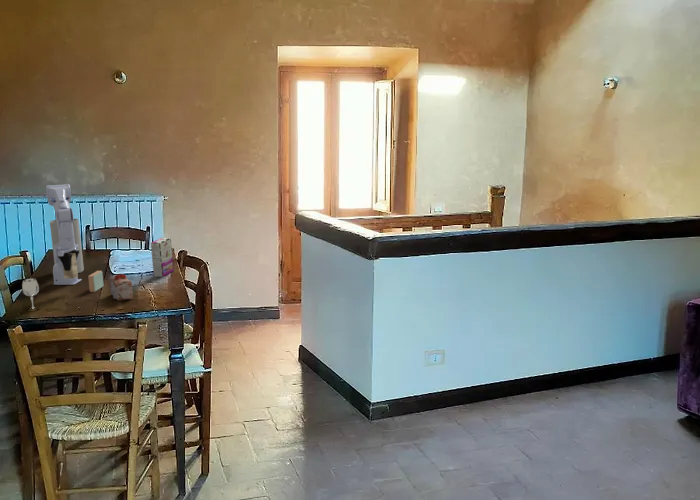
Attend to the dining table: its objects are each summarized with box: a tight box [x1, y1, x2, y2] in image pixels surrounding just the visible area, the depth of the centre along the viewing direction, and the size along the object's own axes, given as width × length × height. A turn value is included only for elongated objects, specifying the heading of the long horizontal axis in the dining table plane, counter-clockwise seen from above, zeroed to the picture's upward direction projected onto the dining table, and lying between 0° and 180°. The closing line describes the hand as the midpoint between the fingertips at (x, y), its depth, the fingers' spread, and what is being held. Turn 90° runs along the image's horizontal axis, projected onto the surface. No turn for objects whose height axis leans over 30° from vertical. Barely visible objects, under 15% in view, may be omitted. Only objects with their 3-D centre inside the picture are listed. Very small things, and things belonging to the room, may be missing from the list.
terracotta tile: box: [87, 270, 104, 293], centre depth 285 cm, size 2×9×7 cm, turn 176°
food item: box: [108, 273, 134, 302], centre depth 272 cm, size 14×8×10 cm, turn 34°
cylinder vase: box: [49, 217, 85, 274], centre depth 313 cm, size 12×12×25 cm
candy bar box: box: [150, 237, 175, 278], centre depth 308 cm, size 11×5×16 cm, turn 168°
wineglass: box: [21, 278, 40, 309], centre depth 256 cm, size 6×6×12 cm
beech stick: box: [63, 253, 79, 278], centre depth 278 cm, size 4×4×10 cm
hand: (70, 269), depth 279 cm, fingers closed on beech stick, 4 cm apart
